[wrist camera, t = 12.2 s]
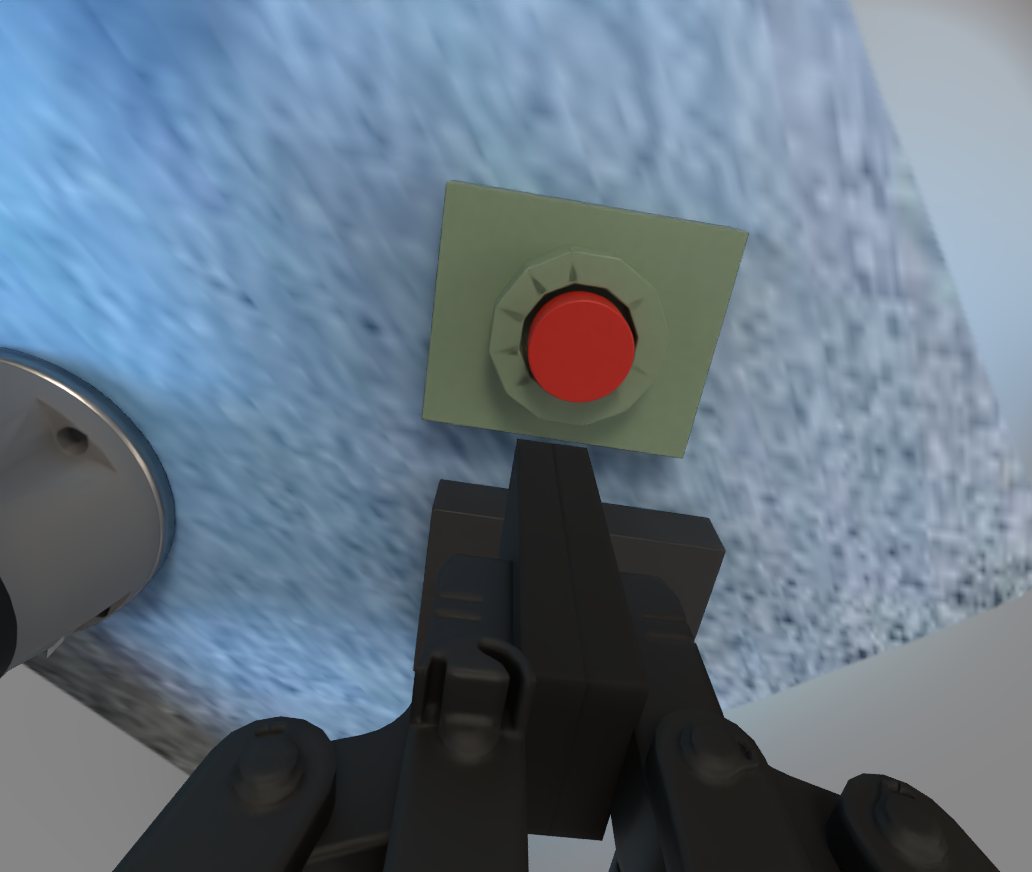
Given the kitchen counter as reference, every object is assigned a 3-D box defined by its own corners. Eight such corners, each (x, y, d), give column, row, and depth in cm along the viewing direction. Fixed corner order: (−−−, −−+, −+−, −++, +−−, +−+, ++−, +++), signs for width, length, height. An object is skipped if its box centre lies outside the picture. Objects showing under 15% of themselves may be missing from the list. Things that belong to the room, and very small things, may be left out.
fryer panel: (421, 632, 35) (412, 674, 33) (440, 478, 31) (431, 510, 29) (661, 664, 36) (673, 707, 33) (709, 517, 32) (727, 552, 29)
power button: (520, 380, 26) (519, 395, 24) (536, 282, 24) (537, 291, 22) (615, 395, 26) (621, 410, 24) (638, 299, 24) (646, 309, 23)
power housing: (428, 402, 30) (415, 436, 26) (452, 180, 26) (440, 182, 22) (672, 439, 30) (692, 477, 27) (732, 227, 26) (765, 237, 23)
